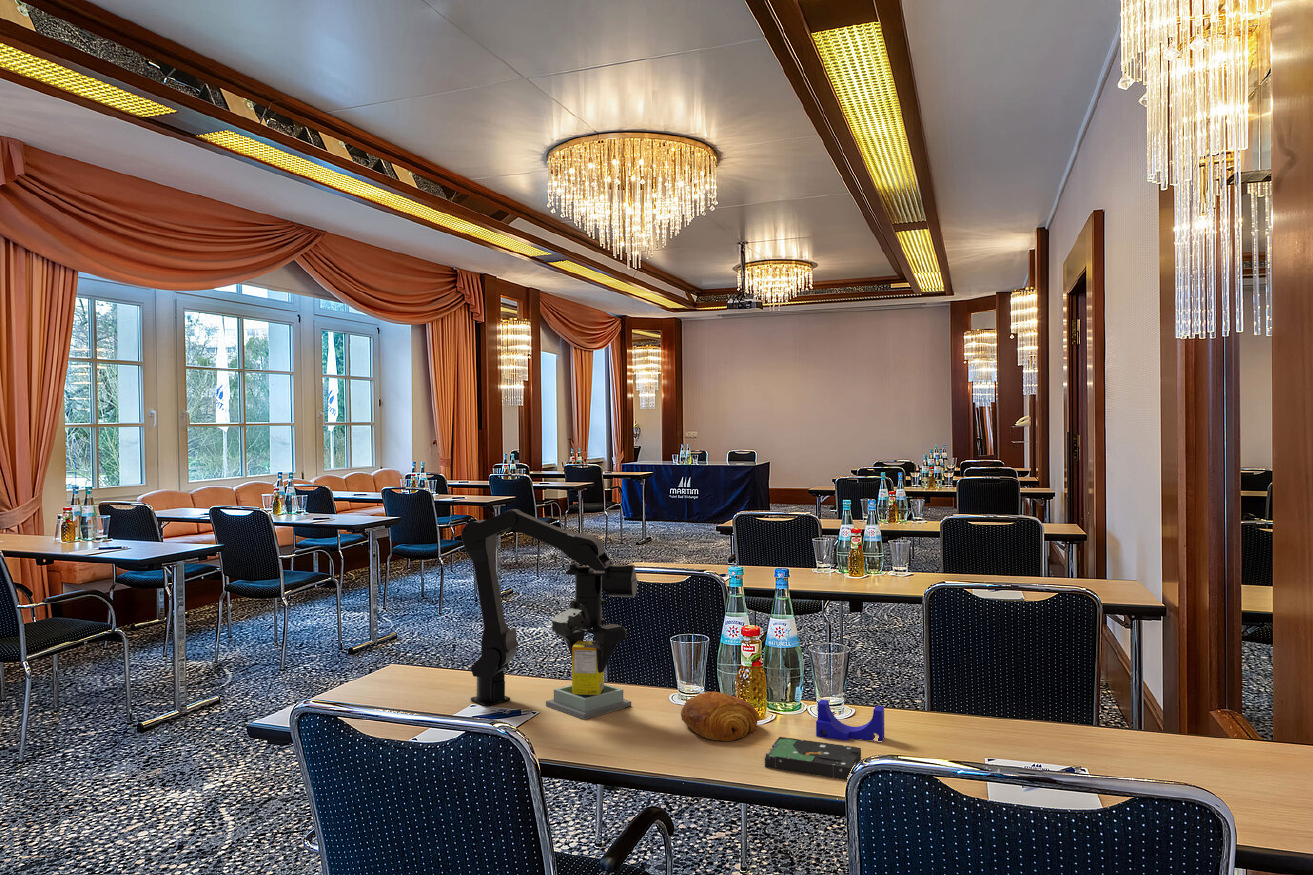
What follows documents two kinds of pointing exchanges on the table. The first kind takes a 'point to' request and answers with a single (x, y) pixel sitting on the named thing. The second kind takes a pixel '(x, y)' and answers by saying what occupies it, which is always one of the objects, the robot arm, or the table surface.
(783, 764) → the disk drive
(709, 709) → the croissant
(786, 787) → the table surface
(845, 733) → the blue u-shaped cradle
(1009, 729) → the table surface
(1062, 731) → the table surface
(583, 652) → the supplement box
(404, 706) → the table surface
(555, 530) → the robot arm
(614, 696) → the socket holder
